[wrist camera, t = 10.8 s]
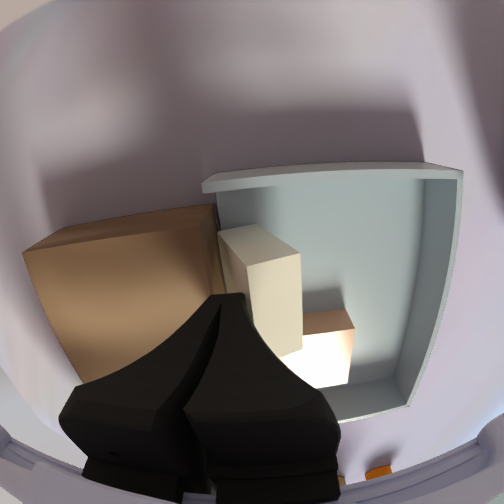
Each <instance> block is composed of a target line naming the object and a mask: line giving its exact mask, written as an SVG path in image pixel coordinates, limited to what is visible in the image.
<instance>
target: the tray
mask: <svg viewBox="0 0 504 504" xmlns="http://www.w3.org/2000/svg"><path fill="white" fill-rule="evenodd" d="M201 186H202V193H203V194H206V193H213V192H215V193H216V200H217V207H218V214H219V220H220V227H221V231H222V230H227V229H231V228H236V227H241V226H246V225H251V224H256V223H257V224H258V225H260V226H261V227H263V228H264V229H266V230H267V231H269V232H270V233H272V234H273V235H275V236H276V237H278V238H279V239H281V240H282V241H284V242H285V243H286V244H288V245H289V246H291V247H292V248H294V249H295V250H297V251H298V252H300V255H301V279H302V314H304V313H313V312H321V311H329V310H336V309H343V308H346V310H347V313H348V315H349V317H350V319H351V321H352V323H353V325H354V327H355V333H354V341H353V348H352V355H351V362H350V369H349V375H348V381H347V383H346V384H340V385H334V386H328V387H321V388H316V389H317V390H319V391H321V392H322V393H323V395H324V397H325V398H326V400H327V401H328V403H329V405H330V407H331V408H332V410H333V412H334V414H335V416H336V419H337V421H338V424H339V423H344V422H349V421H354V420H359V419H364V418H368V417H372V416H376V415H380V414H384V413H388V412H392V411H395V410H399V409H402V408H406V407H409V406H410V404H411V402H412V400H413V397H414V395H415V393H416V391H417V388H418V386H419V383H420V381H421V378H422V376H423V373H424V371H425V368H426V366H427V363H428V360H429V357H430V355H431V352H432V349H433V346H434V343H435V340H436V337H437V333H438V330H439V327H440V323H441V320H442V316H443V312H444V309H445V305H446V301H447V297H448V292H449V288H450V283H451V279H452V274H453V268H454V263H455V257H456V251H457V244H458V237H459V229H460V220H461V208H462V193H463V171H462V170H458V169H454V168H449V167H445V166H441V165H436V164H432V163H427V162H398V161H374V162H336V163H316V164H300V165H287V166H275V167H265V168H255V169H246V170H237V171H229V172H221V173H214V174H213V175H212V176H210V177H209V178H208V179H206V180H205V181H204V182H203V183H201Z"/></svg>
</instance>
